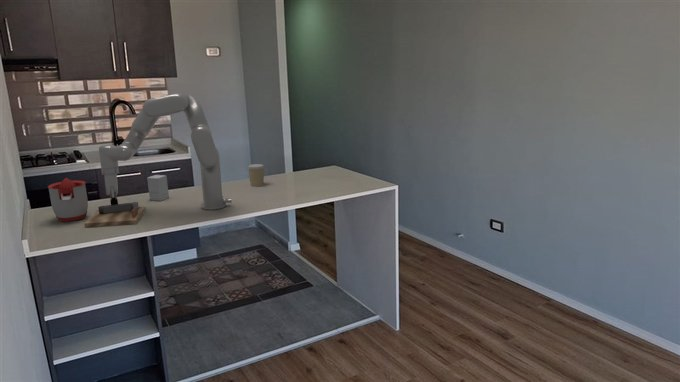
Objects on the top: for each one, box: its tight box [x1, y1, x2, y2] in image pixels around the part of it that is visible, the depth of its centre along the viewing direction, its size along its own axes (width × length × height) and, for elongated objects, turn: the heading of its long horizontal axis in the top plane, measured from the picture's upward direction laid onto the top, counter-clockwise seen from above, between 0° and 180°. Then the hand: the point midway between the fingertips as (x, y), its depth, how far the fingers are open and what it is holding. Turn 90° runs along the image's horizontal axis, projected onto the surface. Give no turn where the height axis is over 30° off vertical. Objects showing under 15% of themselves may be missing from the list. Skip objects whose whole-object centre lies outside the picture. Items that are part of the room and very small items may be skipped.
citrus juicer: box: [47, 177, 89, 223], centre depth 226 cm, size 16×17×20 cm
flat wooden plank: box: [83, 206, 147, 229], centre depth 227 cm, size 22×22×6 cm
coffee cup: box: [247, 163, 265, 188], centre depth 287 cm, size 9×9×12 cm
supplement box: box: [146, 174, 170, 202], centre depth 259 cm, size 7×7×13 cm
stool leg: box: [97, 201, 140, 214], centre depth 232 cm, size 18×3×3 cm, turn 115°
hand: (114, 207), depth 234 cm, fingers closed
